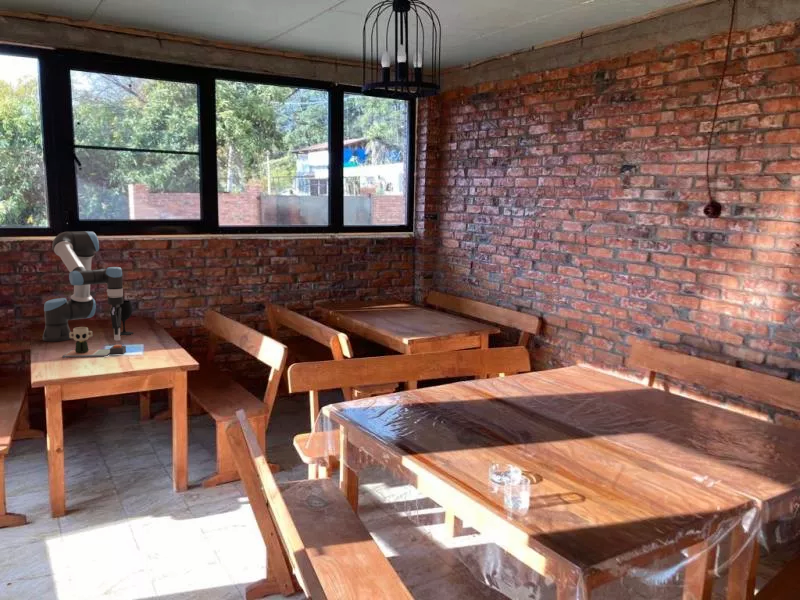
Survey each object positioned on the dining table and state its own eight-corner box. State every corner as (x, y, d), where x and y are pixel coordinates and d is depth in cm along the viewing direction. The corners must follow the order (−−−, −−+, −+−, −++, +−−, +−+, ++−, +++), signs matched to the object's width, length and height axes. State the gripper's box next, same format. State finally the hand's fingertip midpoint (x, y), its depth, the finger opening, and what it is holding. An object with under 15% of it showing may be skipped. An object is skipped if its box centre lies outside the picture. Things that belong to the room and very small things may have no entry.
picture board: (71, 351, 345) (71, 349, 345) (114, 350, 348) (114, 348, 348) (61, 357, 330) (61, 356, 330) (107, 356, 334) (107, 355, 334)
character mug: (70, 354, 333) (68, 330, 331) (70, 351, 339) (69, 327, 337) (93, 352, 338) (92, 328, 336) (93, 350, 344) (92, 326, 342)
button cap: (115, 350, 343) (115, 344, 342) (122, 349, 343) (122, 344, 343) (113, 351, 339) (113, 345, 339) (120, 351, 340) (120, 345, 340)
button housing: (113, 352, 344) (113, 345, 344) (126, 351, 345) (125, 345, 345) (110, 354, 338) (109, 348, 337) (122, 354, 339) (122, 348, 338)
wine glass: (124, 336, 384) (123, 303, 381) (111, 334, 388) (109, 302, 385) (137, 333, 394) (135, 301, 391) (124, 331, 397) (122, 299, 394)
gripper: (111, 294, 343) (113, 337, 346) (104, 298, 330) (106, 342, 334) (126, 294, 344) (127, 337, 348) (119, 298, 331) (121, 342, 335)
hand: (117, 340), depth 341 cm, fingers closed
